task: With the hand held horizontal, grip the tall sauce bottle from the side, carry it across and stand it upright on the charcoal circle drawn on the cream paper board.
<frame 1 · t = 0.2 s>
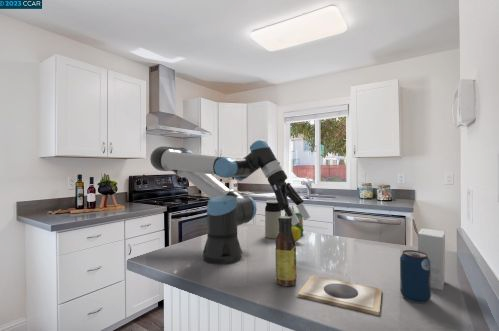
hand: (302, 221, 103), 14 cm above the counter, tool tilted 35°, fingers open, 13 cm apart
skincare box: (431, 284, 82), on the counter
sauce bottle: (286, 283, 83), on the counter
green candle: (294, 233, 144), on the counter
soda can: (415, 298, 73), on the counter
lemon: (294, 243, 126), on the counter
paper board: (340, 294, 75), on the counter
travel mug: (273, 237, 137), on the counter
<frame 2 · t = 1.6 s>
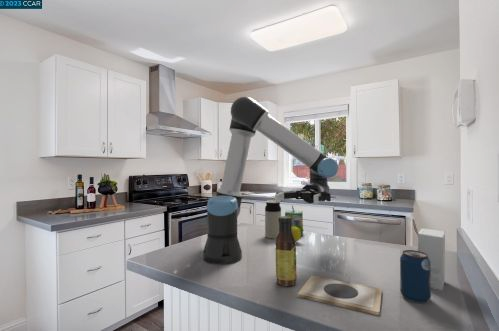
hand: (294, 198, 91), 24 cm above the counter, tool horizontal, fingers open, 13 cm apart
nothing on the counter moved.
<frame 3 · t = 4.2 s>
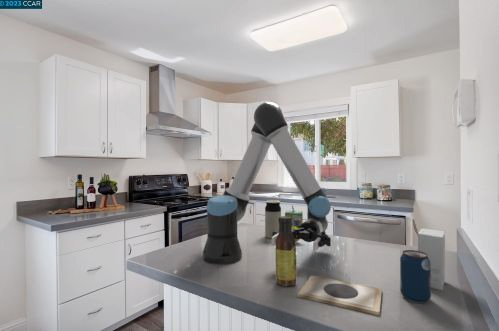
hand: (292, 244, 85), 11 cm above the counter, tool horizontal, fingers open, 13 cm apart
nothing on the counter moved.
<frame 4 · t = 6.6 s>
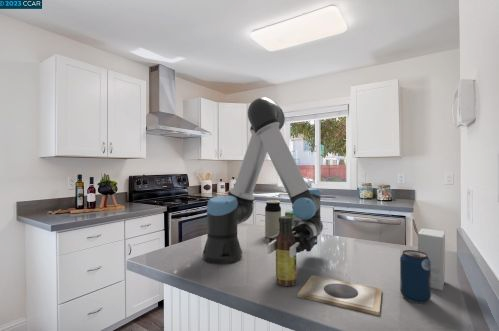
hand: (279, 250, 78), 11 cm above the counter, tool horizontal, fingers closed on sauce bottle, 6 cm apart
sauce bottle: (286, 283, 83), on the counter, touching gripper
everything else where it was.
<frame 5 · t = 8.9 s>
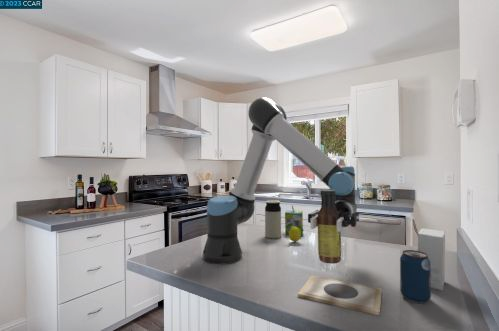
hand: (324, 225, 72), 20 cm above the counter, tool horizontal, fingers closed on sauce bottle, 6 cm apart
sauce bottle: (329, 261, 77), point 8 cm above the counter, touching gripper
everything else where it was.
when the fingers open (13 cm above the counter, at t = 11.4 s): sauce bottle stays where it is, resting on paper board.
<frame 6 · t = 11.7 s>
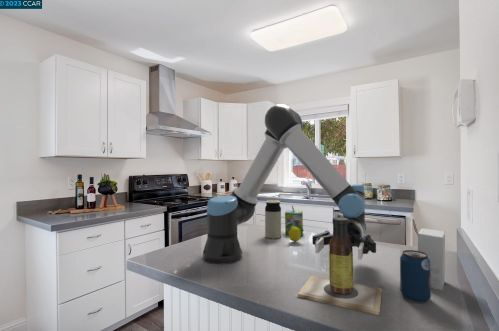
hand: (337, 251, 71), 13 cm above the counter, tool horizontal, fingers open, 10 cm apart
sauce bottle: (340, 290, 75), point 1 cm above the counter, touching paper board
everything else where it was.
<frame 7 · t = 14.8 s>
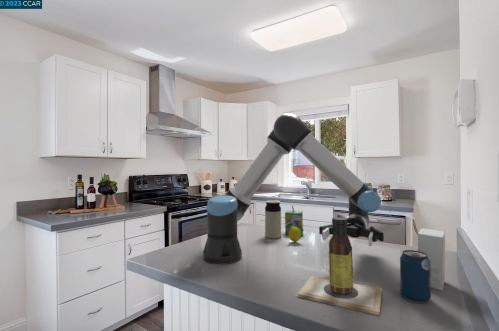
hand: (345, 238, 83), 13 cm above the counter, tool horizontal, fingers open, 13 cm apart
nothing on the counter moved.
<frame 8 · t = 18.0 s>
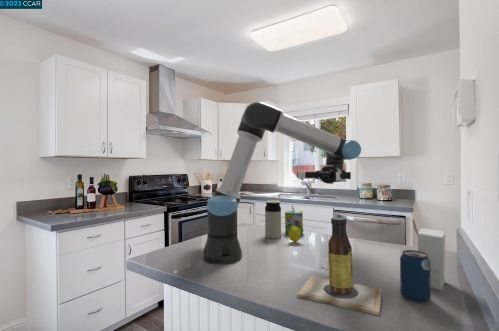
hand: (317, 175, 97), 32 cm above the counter, tool horizontal, fingers open, 13 cm apart
nothing on the counter moved.
at the end: sauce bottle inside the target area on the paper board (0.0 cm from its centre), point 0.8 cm above the paper board's base; sauce bottle tilted 0°; the gripper is holding nothing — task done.
